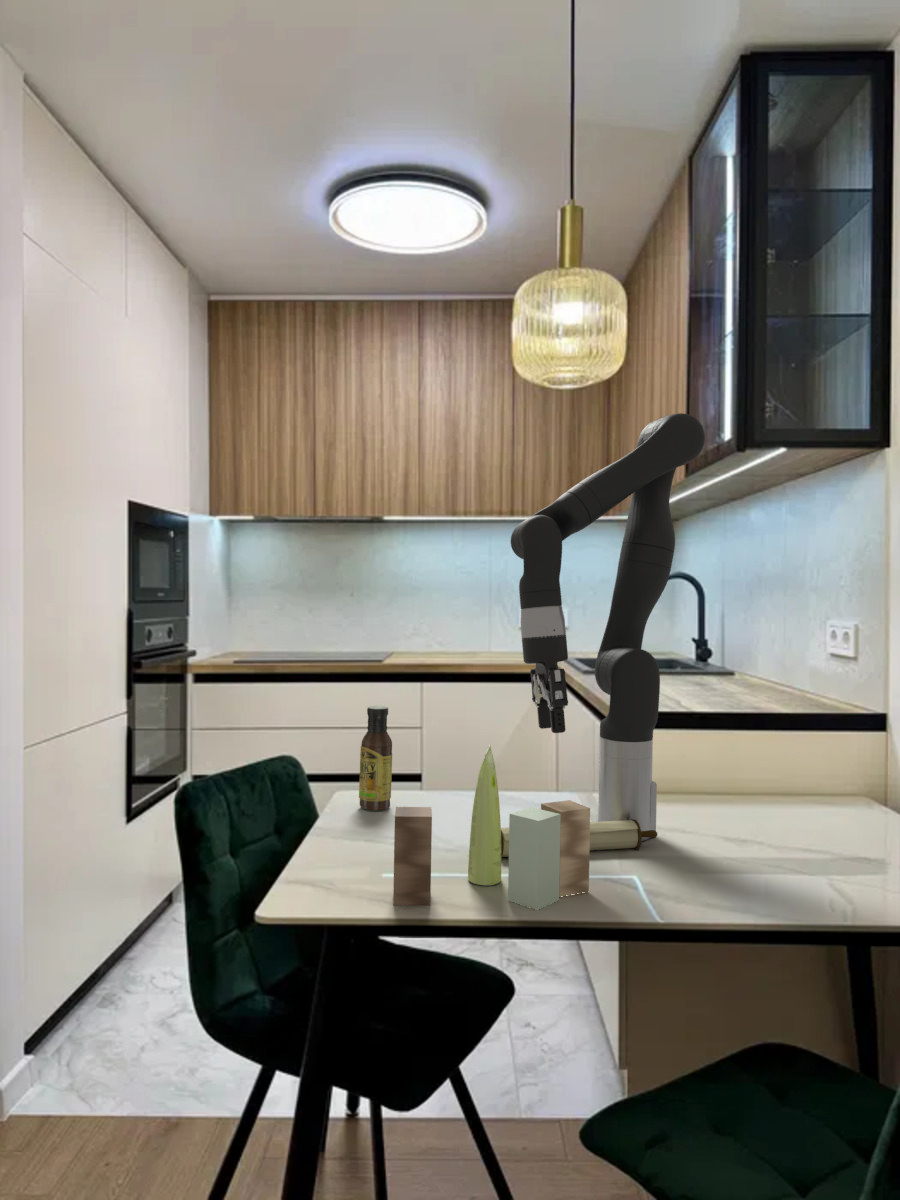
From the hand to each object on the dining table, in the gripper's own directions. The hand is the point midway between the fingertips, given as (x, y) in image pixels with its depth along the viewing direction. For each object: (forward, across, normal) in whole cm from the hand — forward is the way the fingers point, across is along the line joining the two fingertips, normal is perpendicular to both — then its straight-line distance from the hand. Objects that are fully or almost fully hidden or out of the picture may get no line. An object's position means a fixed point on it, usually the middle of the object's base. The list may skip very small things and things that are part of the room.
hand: (551, 730), depth 138 cm
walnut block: (+19, -21, +27) cm, 39 cm away
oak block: (+20, -19, +5) cm, 28 cm away
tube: (+19, -15, +16) cm, 29 cm away
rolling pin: (+20, -2, 0) cm, 20 cm away
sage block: (+20, -23, +10) cm, 32 cm away
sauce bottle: (+15, +28, +30) cm, 43 cm away
